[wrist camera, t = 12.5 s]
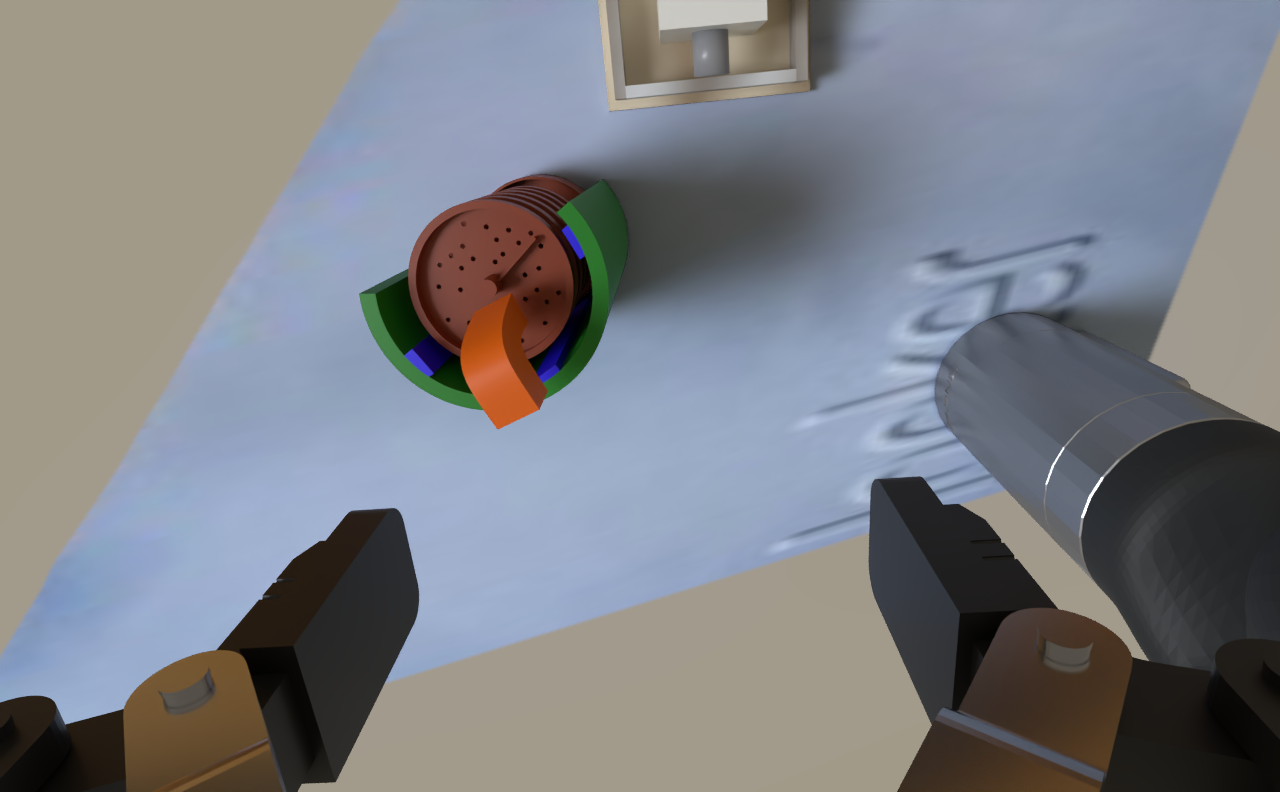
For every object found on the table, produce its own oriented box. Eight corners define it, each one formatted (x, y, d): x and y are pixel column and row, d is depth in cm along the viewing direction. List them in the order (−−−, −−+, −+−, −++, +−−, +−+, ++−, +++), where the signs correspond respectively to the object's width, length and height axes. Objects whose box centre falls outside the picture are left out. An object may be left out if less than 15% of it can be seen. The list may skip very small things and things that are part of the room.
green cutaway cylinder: (569, 132, 42) (496, 138, 23) (661, 256, 44) (663, 353, 25) (440, 239, 44) (278, 324, 25) (534, 352, 46) (450, 506, 28)
